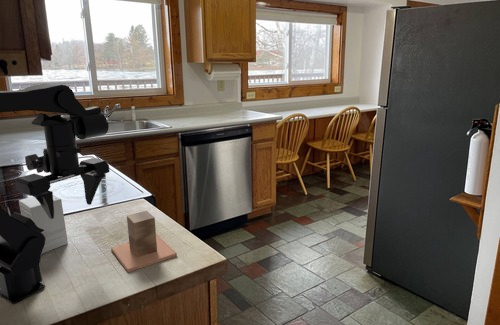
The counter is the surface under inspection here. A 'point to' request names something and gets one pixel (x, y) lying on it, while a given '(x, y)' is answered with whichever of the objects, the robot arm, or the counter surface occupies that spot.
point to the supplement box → (46, 221)
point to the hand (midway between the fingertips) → (71, 211)
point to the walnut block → (142, 233)
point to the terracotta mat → (135, 263)
